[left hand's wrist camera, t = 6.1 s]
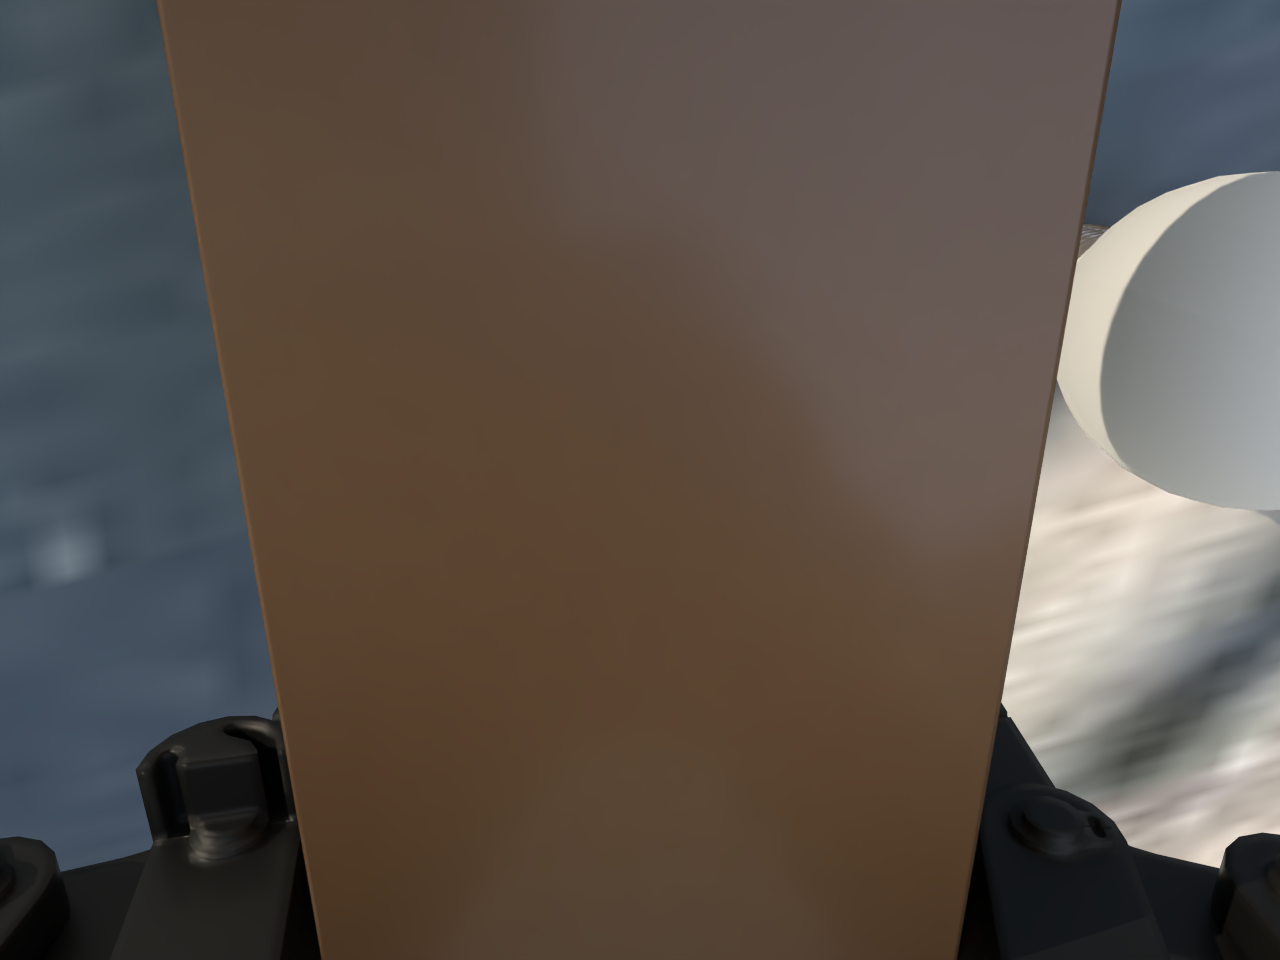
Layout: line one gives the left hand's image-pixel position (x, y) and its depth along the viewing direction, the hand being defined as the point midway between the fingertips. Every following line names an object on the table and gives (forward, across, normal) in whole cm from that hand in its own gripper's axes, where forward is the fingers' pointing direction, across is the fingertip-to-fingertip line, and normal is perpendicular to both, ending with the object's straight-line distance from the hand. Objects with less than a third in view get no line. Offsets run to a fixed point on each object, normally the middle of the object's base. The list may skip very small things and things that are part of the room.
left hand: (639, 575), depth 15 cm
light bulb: (+12, -12, -3) cm, 18 cm away
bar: (+1, 0, -9) cm, 9 cm away
